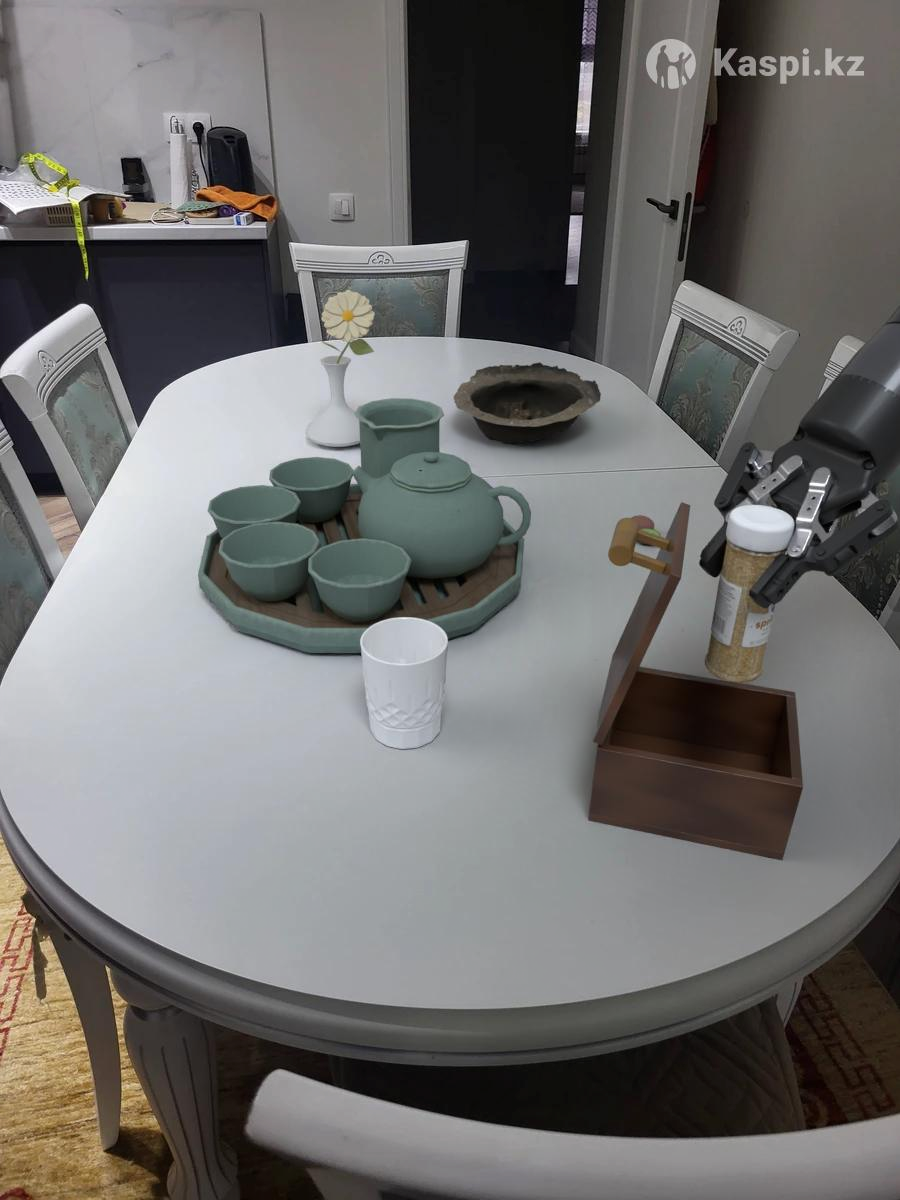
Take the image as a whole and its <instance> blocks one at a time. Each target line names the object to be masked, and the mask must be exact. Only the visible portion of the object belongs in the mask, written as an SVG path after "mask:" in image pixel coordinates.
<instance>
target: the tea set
mask: <svg viewBox="0 0 900 1200" xmlns="http://www.w3.org/2000/svg"><path fill="white" fill-rule="evenodd" d="M354 415H355V416H356V417H357V418H358V419H359V426H360V443H359V448H360V465H357V466H356V467H355V468H353V467H352V466H351V465H350V463H347V462H345V461H342V460H339V459H337V458H330V457H320V456H311V457H310V456H309V457H299V458H294V459H291V460H288V461H287V460H286V461H283V462H280V463H279V464H278V465H277V464H276V466H274V467H272V469H270V471H269V478H268V480H269V482H270V483H271V484H272V485H265V484H261V485H260V484H259V485H248V486H247V485H246V486H239V487H236V488H233V489H229V490H226V491H222V492H221V493H218V495H216V496H215V497H213V498H212V499H210V500H209V504H208V507H207V512H208V514H209V515H210V517H211V519H212V520H213V522H214V525H215V527H216V529H215V530H214V531H212V532H211V533H209V534H208V535H207V536H206V538H205V542H204V547H203V551H202V555H201V560H200V564H199V568H198V573H197V578H198V585H199V588H200V589H201V591H202V593H203V594H204V596H206V598H207V599H208V600H209V601H210V602H211V603H212V604H213V605H214V606H215V607H216V609H218V610H219V611H220V613H221V614H222V615H223V616H224V617H225V618H226V619H227V620H228V622H229V623H230V624H231V625H232V626H233V627H234V628H235V629H236V630H237V631H239V632H241V633H245V634H248V635H251V636H254V637H257V638H261V639H263V640H266V641H270V642H273V643H276V644H280V645H283V646H286V647H289V648H291V649H295V650H298V651H301V652H304V653H308V654H361V646H360V639H361V636H362V634H363V633H364V632H365V630H366V629H368V628H369V627H370V626H372V625H373V624H375V623H378V622H380V621H383V620H386V619H391V618H398V617H413V618H420V619H424V620H427V621H430V622H432V623H434V624H436V625H438V626H439V627H441V628H442V629H443V630H444V631H445V633H446V635H447V638H448V639H451V638H456V637H458V636H459V637H460V636H462V635H465V634H469V633H472V632H474V631H475V630H477V629H478V628H479V627H481V626H482V625H483V624H484V623H485V622H487V621H488V620H489V619H490V618H492V617H493V616H495V614H497V613H498V612H499V611H500V610H501V609H503V608H504V607H505V606H507V604H509V603H510V602H511V601H512V600H514V599H515V598H516V597H517V595H518V594H519V592H520V591H521V583H522V574H523V573H522V572H523V562H524V551H525V550H524V548H525V538H524V536H525V535H526V534H527V532H528V530H529V528H530V526H531V517H532V510H531V508H530V503H529V502H528V501H527V499H526V498H525V497H524V495H523V494H522V492H520V491H518V490H517V489H515V488H513V487H510V486H504V485H499V486H496V487H495V486H494V487H493V486H492V485H491V484H489V483H488V481H486V480H485V479H484V478H483V477H481V476H479V475H477V474H475V473H474V472H473V471H472V468H471V465H470V464H469V463H468V461H465V460H463V459H462V458H460V457H458V456H456V455H454V454H450V453H446V452H441V451H440V423H441V422H440V421H441V419H442V418H443V417H444V416H445V414H444V410H443V408H442V406H439V405H438V404H435V403H433V402H432V401H427V400H422V399H418V398H417V399H416V398H401V397H400V398H396V397H395V398H393V397H392V398H384V399H378V400H371V401H369V402H367V403H364V404H361V405H359V406H358V407H357V408H356V410H355V414H354ZM353 478H354V480H355V482H356V483H352V479H353ZM500 496H501V497H502V496H503V497H508V498H510V499H511V500H513V501H515V503H516V504H517V505H518V506H519V508H520V510H521V514H522V520H521V523H520V525H519V527H518V528H517V529H515V528H514V527H513V526H512V525H511V524H510V523H509V522H508V521H507V520H506V519H505V518H504V508H503V505H502V503H501V501H500V498H499V497H500Z"/></svg>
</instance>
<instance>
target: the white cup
mask: <svg viewBox="0 0 900 1200" xmlns="http://www.w3.org/2000/svg"><path fill="white" fill-rule="evenodd" d="M448 644H449V638H447V635H446V633H445V631H444V630H443V629H442V628H441V627H439V626H438V625H436V624H434V623H432V622H430V621H427V620H424V619H420V618H413V617H398V618H391V619H386V620H383V621H380V622H378V623H375V624H373V625H372V626H370V627H369V628H368V629H366V630H365V632H364V633H363V634H362V636H361V639H360V646H361V653H360V654H361V664H362V674H363V675H362V676H363V685H364V691H365V692H364V693H365V699H366V700H365V702H366V706H367V710H368V719H369V721H368V722H369V730H370V732H371V734H372V736H373V737H374V739H375V741H378V742H379V743H381V744H383V745H384V746H386V747H388V748H394V749H397V750H398V749H399V750H409V749H416V748H417V749H418V748H421V747H423V746H425V745H427V744H429V743H432V742H433V741H434V740H435V739H436V737H437V736H438V735H439V734H440V732H441V725H442V724H441V723H442V713H443V712H442V710H443V707H444V698H445V690H446V689H445V687H446V686H445V685H446V679H447V662H448V661H447V658H448Z"/></svg>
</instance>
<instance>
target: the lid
mask: <svg viewBox="0 0 900 1200" xmlns="http://www.w3.org/2000/svg"><path fill="white" fill-rule="evenodd" d="M690 511H691V505H690V504H688V503H686V502H680V504H679V505H678V508H677V511H676V513H675V516H674V517H673V520H672V521H671V524H670V526H669V528H668V531H667V533H666V536H665V537H663V536H662V535H660V536H658V535H655V534H652V533H649V532H647V531H644V530H641V529H639V525H638V523H637V522H636V521H635V520H634V519H632V518H631V517H623V518H621V519H619V520H618V521H617V522H616V525H615V528H614V532H613V536H612V538H611V542H610V546H609V549H608V553H607V556H608V559H609V561H610V562H611V564H613V565H615V566H616V567H625V566H628V565H629V564H633V565H636V566H639V567H640V568H641V567H642V568H644V569H647V570H650V571H649V573H648V576H647V578H646V580H645V582H644V584H643V587H642V589H641V592H640V593H639V596H638V598H637V600H636V603H635V605H634V607H633V609H632V611H631V613H630V616H629V618H628V620H627V623H626V625H625V627H624V629H623V631H622V634H621V636H620V638H619V641H618V643H617V645H616V647H615V649H614V652H613V654H612V657H611V661H610V664H609V668H608V669H609V670H608V673H607V679H606V682H605V687H604V691H603V695H602V699H601V705H600V707H599V709H600V710H599V713H598V717H597V721H596V726H595V730H594V734H593V739H592V742H593V743H594V744H596V745H598V744H600V745H602V744H603V742H604V740H605V738H606V736H607V734H608V732H609V730H610V728H611V725H612V723H613V721H614V719H615V717H616V715H617V713H618V711H619V709H620V706H621V704H622V702H623V700H624V698H625V696H626V694H627V692H628V689H629V687H630V685H631V683H632V681H633V679H634V677H635V675H636V673H637V670H638V668H639V667H641V664H642V662H643V659H644V657H645V655H646V654H647V652H648V650H649V647H650V645H651V643H652V641H653V638H654V636H655V634H656V632H657V630H658V628H659V626H660V624H661V621H662V620H663V617H664V615H665V614H666V611H667V609H668V607H669V605H670V602H671V600H672V598H673V596H674V594H675V592H676V590H677V588H678V586H679V583H680V581H681V579H682V574H683V566H684V559H685V552H686V543H687V535H688V528H689V519H690ZM637 541H638V542H640V541H641V542H644V543H647V544H649V546H653V547H654V548H658V549H659V551H658V553H657V556H656V557H655V558H653V557H651V556H648V555H645V554H644V553H641V552H637V551H635V549H636V544H637ZM641 542H640V543H641ZM647 544H646V545H647Z"/></svg>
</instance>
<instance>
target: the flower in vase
mask: <svg viewBox="0 0 900 1200" xmlns="http://www.w3.org/2000/svg"><path fill="white" fill-rule="evenodd" d="M372 309H373V306H372V304H370V299H369V298H367V297H366V296H365V295H362V294H360V293H359V292H357V291H352V290H350V289H346V291H343V292H341V291H338V292H337V293H336V295H333V296H330V297H328V300H327V302H326V303H325V305H324V308H323V311H322V313H321V321H322V322H323V326H324V328H325V329H327V330H326V333H327V335H330V337H334V338H335V339H336V340H341V341H342V342H345V343H346V345H345V347H343V349H342V351H341V352H340V350H339V348H337V347H336V346H334V345H332V344H330V343H327V342H325V341H323V340H322V339H321V338H319V337H318V339H319V341H320V342H322V344H324V345H326V346H328V347H330V348H331V349H334V350H335V351H338V352H340V354H339V355H330V356H325V357H322V358H320V360H319V362H320V364H321V365H322V366H323V368H324V369H325V372H326V374H327V377H328V382H329V391H330V399H329V403H328V405H327V407H326V408H325V409H324V410H323V411H321V412H320V413H319V414H318V415H317V416H315V417H314V418H313V419H312V420H311V421H310V422H309V423H308V424H307V426H306V429H305V432H304V433H305V436H306V437H307V438H308V440H309V441H311V442H312V443H315V444H317V445H321V446H325V447H333V448H342V447H343V448H344V447H351V446H355V445H358V444H360V426H359V419H358V418H357V417H356V416H355V415H354V414H355V412H356V410H354V409H352V408H351V407H350V406H349V405H348V403H347V402H346V399H345V398H346V397H345V375H346V371H347V368H348V367H349V365H350V363H351V361H352V359H351V358H350V357H347V356H344V354H345V352H346V351H347V349H348V347H349V348H350V350H351V351H352V352H353V354H354V355H356V356H364V355H368V354H371V353H372V354H373V353H374V352H375V350H374V349H373V348H372V347H371V345H370V344H369V343H368V342H367V341H366V340H364V339H363V336H367V334H368V332H369V331H370V327H371V326H372V325H373V321H374V319H375V314H376V313H375V311H373V310H372Z"/></svg>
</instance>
